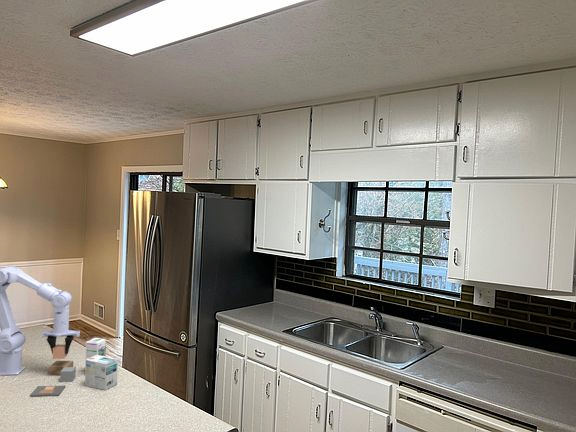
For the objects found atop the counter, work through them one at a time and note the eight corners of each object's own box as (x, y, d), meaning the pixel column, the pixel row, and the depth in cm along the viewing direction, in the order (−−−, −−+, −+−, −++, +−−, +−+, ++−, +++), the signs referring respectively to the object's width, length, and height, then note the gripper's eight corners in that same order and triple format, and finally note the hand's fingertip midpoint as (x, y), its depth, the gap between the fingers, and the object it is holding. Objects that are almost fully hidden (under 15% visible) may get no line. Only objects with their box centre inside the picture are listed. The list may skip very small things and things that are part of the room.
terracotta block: (52, 358, 183) (52, 348, 183) (56, 355, 188) (56, 344, 188) (64, 358, 184) (64, 348, 184) (67, 354, 189) (67, 344, 189)
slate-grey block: (60, 382, 178) (60, 371, 177) (63, 378, 182) (64, 367, 182) (72, 382, 178) (72, 371, 178) (75, 377, 183) (75, 367, 183)
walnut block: (48, 376, 183) (49, 366, 183) (56, 369, 190) (56, 360, 190) (66, 376, 184) (66, 367, 184) (73, 370, 191) (73, 360, 191)
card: (29, 396, 164) (29, 394, 164) (37, 387, 172) (37, 385, 172) (58, 395, 166) (58, 394, 166) (65, 386, 174) (65, 385, 174)
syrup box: (97, 377, 184) (98, 342, 184) (84, 375, 186) (85, 341, 185) (105, 371, 190) (106, 338, 190) (93, 370, 191) (94, 337, 191)
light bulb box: (117, 384, 178) (118, 358, 178) (105, 390, 172) (106, 363, 172) (96, 379, 182) (97, 353, 182) (83, 385, 176) (84, 359, 175)
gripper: (39, 324, 180) (38, 356, 181) (76, 324, 183) (75, 356, 183) (45, 319, 187) (44, 351, 188) (81, 319, 190) (80, 350, 190)
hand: (60, 353), depth 186 cm, fingers closed on terracotta block, 4 cm apart
